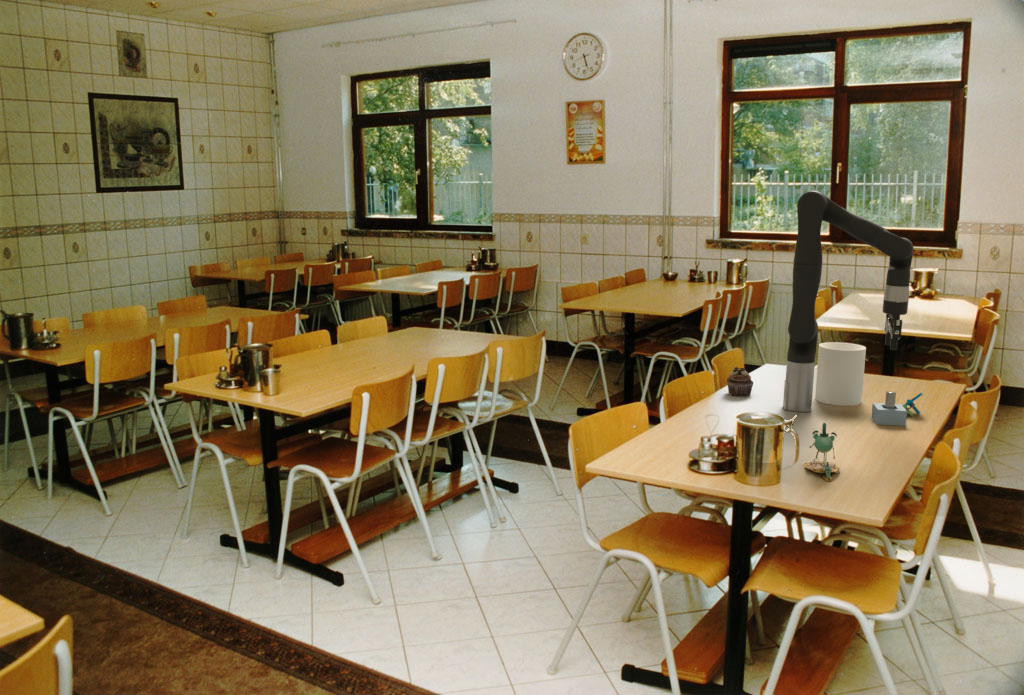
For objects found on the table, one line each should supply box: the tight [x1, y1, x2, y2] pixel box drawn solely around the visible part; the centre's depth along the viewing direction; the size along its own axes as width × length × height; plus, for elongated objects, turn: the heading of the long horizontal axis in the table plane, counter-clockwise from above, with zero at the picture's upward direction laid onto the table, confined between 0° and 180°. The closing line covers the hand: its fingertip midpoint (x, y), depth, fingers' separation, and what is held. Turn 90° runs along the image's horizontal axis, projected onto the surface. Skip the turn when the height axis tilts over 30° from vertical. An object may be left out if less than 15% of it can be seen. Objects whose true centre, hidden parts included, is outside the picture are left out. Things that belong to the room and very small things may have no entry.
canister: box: [814, 341, 867, 407], centre depth 322 cm, size 16×16×20 cm
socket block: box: [870, 402, 908, 427], centre depth 295 cm, size 9×9×5 cm
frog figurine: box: [803, 422, 841, 483], centre depth 245 cm, size 10×18×15 cm, turn 157°
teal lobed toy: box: [902, 392, 923, 417], centre depth 306 cm, size 11×6×10 cm
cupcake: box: [726, 366, 754, 398], centre depth 331 cm, size 10×10×10 cm
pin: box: [884, 390, 897, 409], centre depth 295 cm, size 3×3×10 cm
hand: (891, 347), depth 294 cm, fingers open, 8 cm apart
